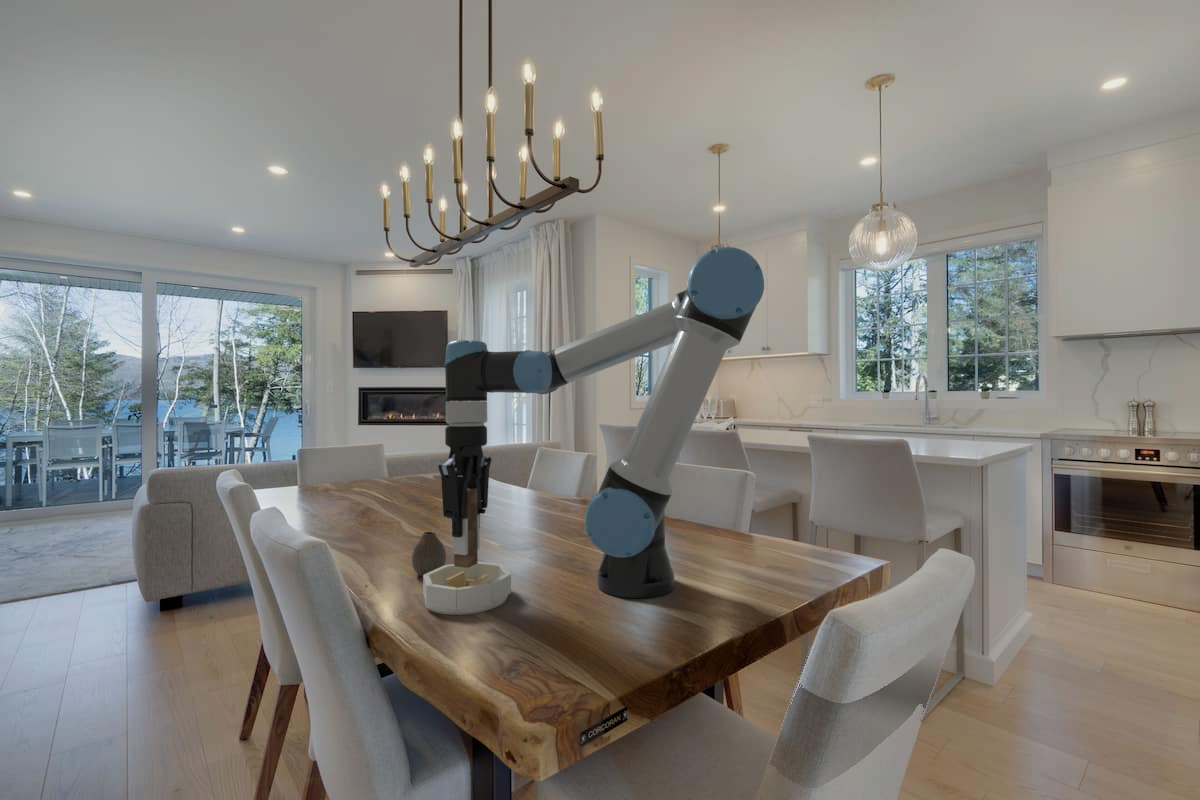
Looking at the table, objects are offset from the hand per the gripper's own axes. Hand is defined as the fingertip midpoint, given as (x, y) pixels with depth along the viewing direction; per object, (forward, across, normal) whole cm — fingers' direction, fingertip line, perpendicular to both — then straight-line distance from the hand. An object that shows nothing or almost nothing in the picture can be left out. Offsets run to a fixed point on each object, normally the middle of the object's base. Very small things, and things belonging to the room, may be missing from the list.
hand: (466, 550), depth 100 cm
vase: (+9, -9, -16) cm, 20 cm away
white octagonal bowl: (+9, 0, 0) cm, 9 cm away
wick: (+3, 0, 0) cm, 3 cm away
